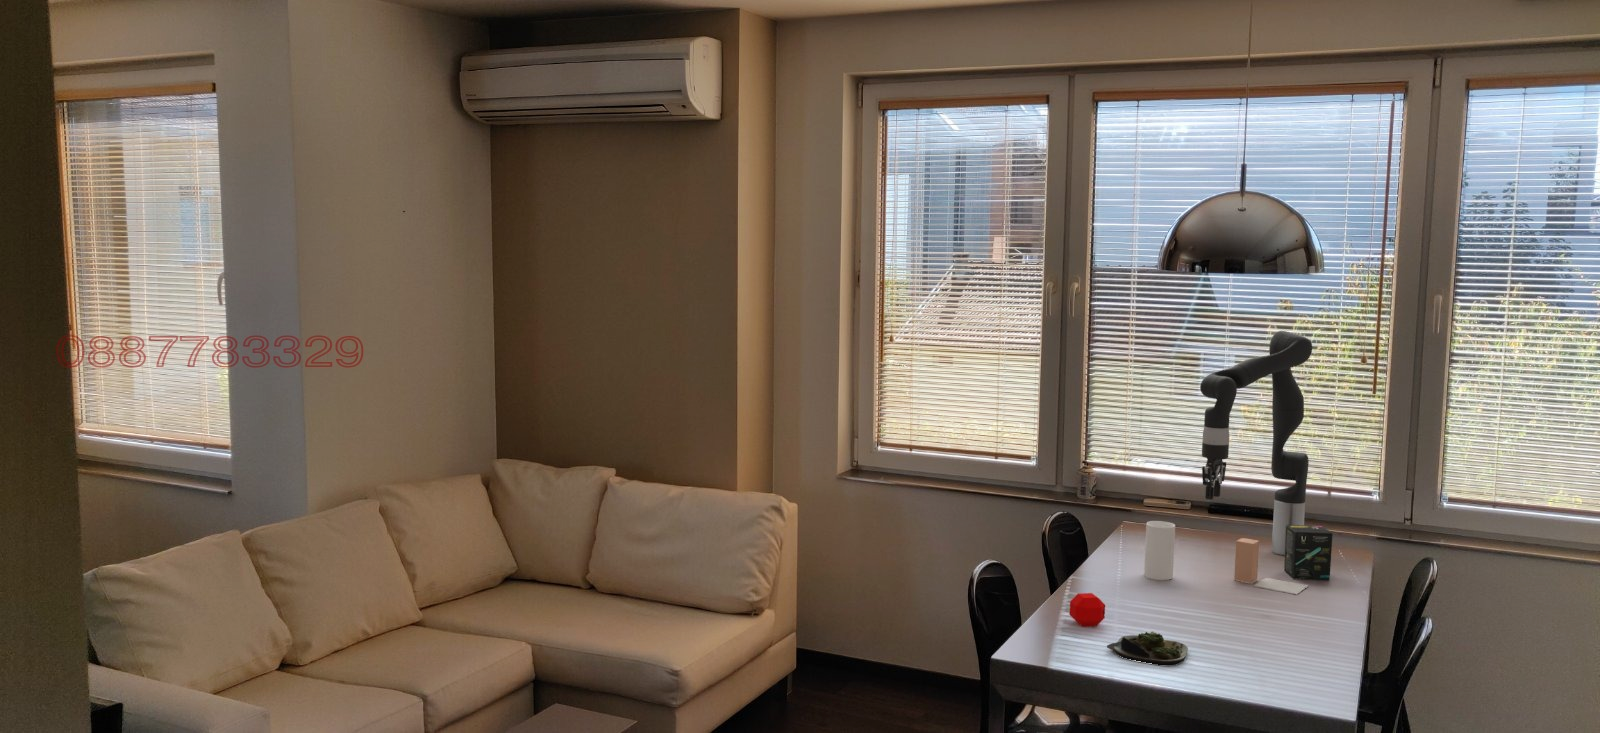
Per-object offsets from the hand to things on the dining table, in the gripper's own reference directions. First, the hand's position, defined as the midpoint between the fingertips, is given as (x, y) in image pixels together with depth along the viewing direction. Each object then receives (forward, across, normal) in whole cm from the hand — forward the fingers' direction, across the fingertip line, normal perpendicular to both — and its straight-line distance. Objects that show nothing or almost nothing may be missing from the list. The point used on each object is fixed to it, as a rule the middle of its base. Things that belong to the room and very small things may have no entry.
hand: (1212, 497), depth 342 cm
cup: (+24, -14, +10) cm, 29 cm away
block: (+23, 0, -11) cm, 26 cm away
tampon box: (+24, +18, -23) cm, 38 cm away
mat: (+23, 0, -21) cm, 31 cm away
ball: (+24, -70, +6) cm, 74 cm away
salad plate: (+24, -80, -15) cm, 85 cm away
